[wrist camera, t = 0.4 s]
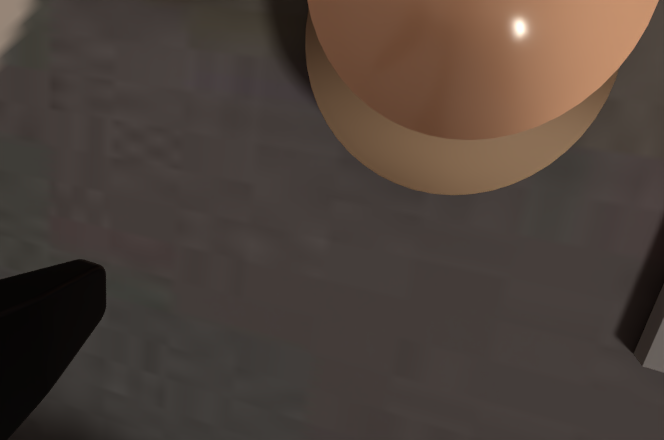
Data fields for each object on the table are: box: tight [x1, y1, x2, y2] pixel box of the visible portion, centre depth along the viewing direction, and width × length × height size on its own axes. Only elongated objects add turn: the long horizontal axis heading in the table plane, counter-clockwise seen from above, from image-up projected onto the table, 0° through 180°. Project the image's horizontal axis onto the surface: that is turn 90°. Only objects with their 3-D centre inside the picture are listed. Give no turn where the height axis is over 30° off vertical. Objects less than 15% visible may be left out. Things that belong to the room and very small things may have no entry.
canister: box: [307, 0, 659, 140], centre depth 12 cm, size 5×5×10 cm
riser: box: [305, 10, 619, 195], centre depth 19 cm, size 10×10×3 cm
